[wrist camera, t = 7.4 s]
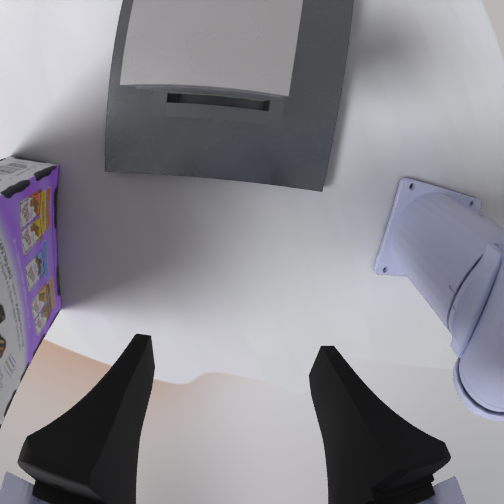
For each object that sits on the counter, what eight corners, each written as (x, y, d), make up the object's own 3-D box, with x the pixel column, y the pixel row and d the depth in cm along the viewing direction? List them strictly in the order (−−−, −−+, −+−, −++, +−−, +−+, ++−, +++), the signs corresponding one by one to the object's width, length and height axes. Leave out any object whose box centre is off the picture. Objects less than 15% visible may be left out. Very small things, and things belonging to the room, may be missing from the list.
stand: (349, -4, 13) (374, -23, 9) (318, 187, 20) (337, 208, 16) (135, -25, 11) (114, -48, 8) (110, 168, 18) (84, 185, 14)
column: (275, 20, 10) (310, -41, 4) (262, 101, 12) (290, 98, 6) (184, 12, 10) (145, -51, 4) (172, 93, 12) (117, 87, 6)
